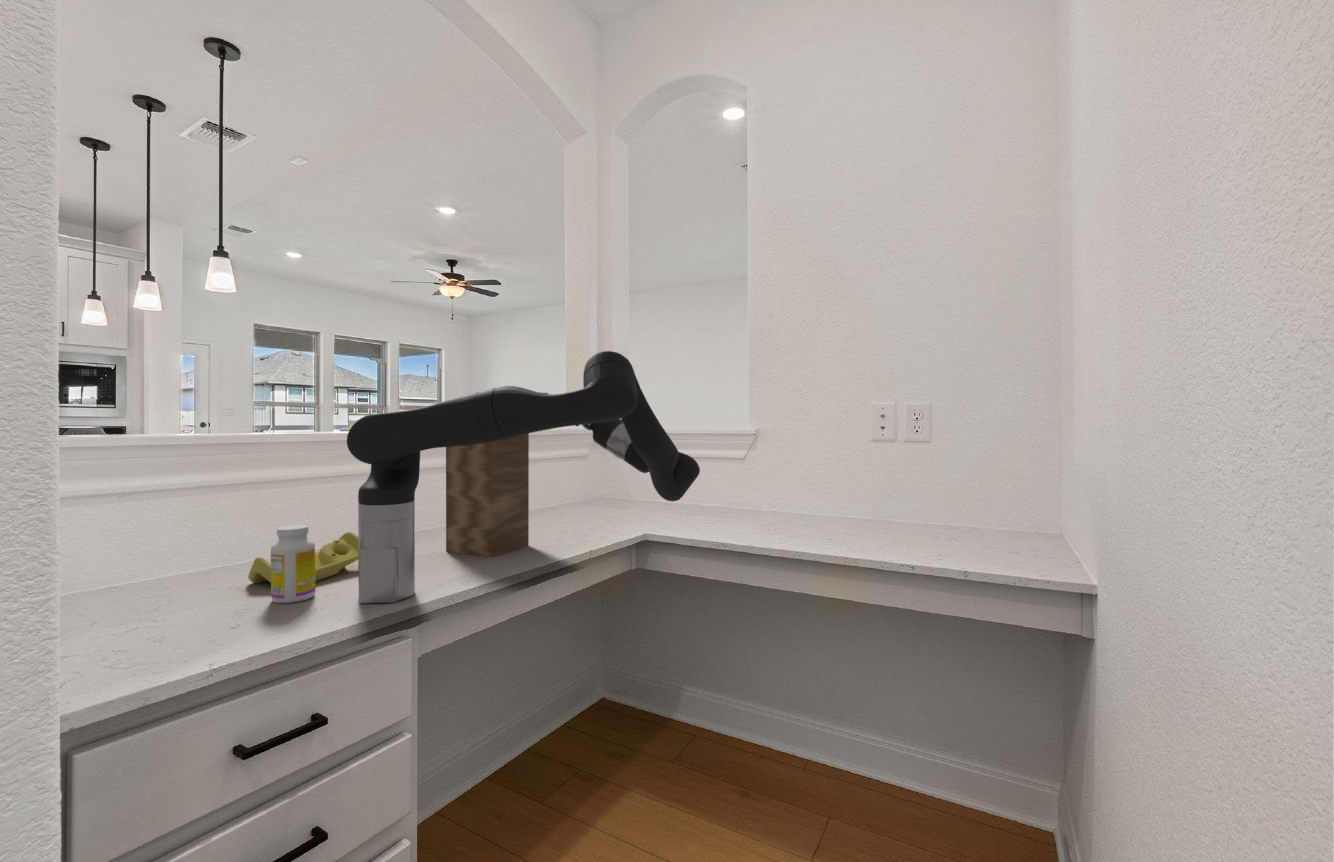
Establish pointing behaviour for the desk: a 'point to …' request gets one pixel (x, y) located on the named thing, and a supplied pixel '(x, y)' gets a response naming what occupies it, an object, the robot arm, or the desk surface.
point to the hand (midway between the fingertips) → (562, 400)
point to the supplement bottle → (292, 565)
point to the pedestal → (488, 497)
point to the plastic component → (317, 559)
